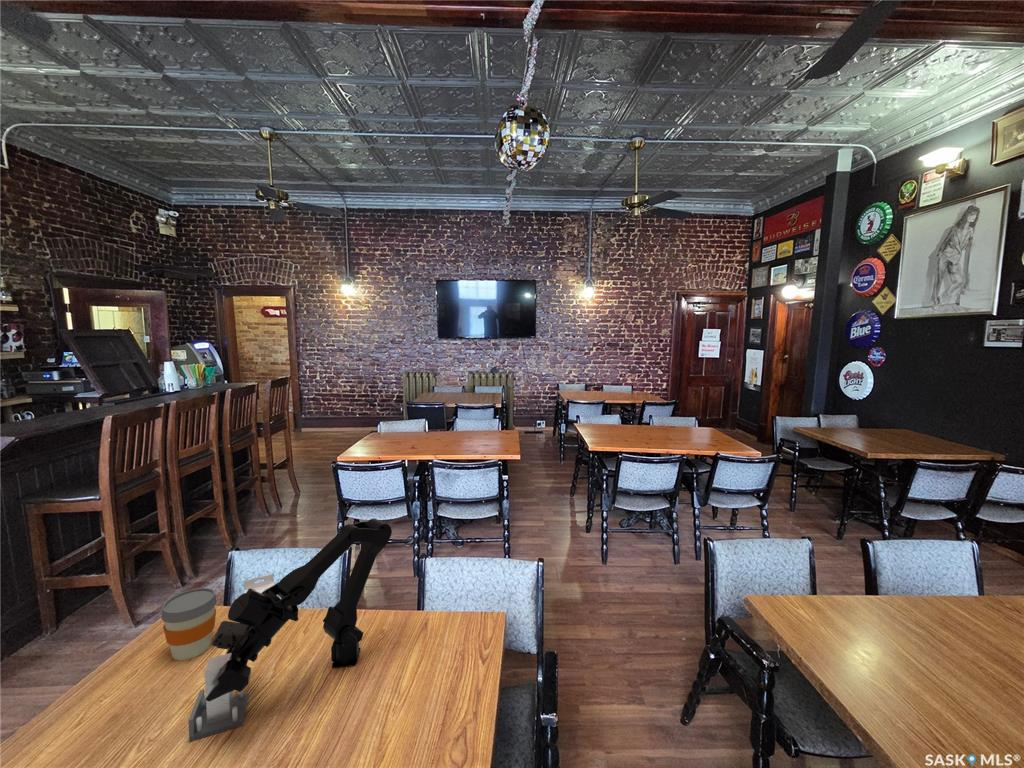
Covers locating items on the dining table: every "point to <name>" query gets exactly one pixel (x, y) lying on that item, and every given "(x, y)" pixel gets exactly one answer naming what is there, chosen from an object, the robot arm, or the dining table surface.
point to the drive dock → (202, 729)
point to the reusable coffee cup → (189, 622)
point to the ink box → (259, 586)
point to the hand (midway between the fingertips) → (212, 684)
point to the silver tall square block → (220, 705)
